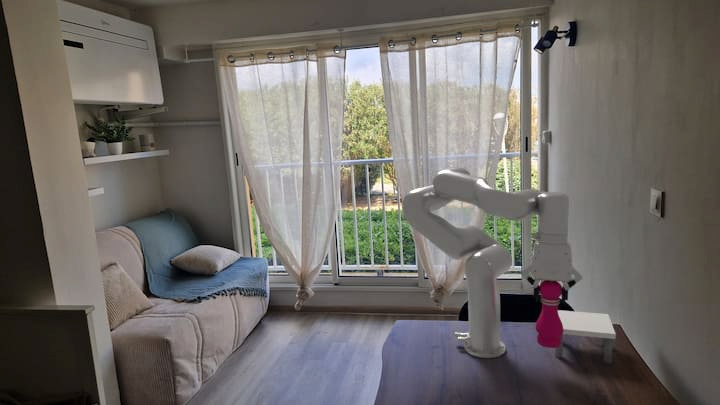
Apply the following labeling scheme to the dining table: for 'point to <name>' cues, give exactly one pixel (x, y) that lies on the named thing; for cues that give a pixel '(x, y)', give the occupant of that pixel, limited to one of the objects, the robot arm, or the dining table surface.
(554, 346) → the pepper mill
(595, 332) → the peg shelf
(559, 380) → the dining table surface
